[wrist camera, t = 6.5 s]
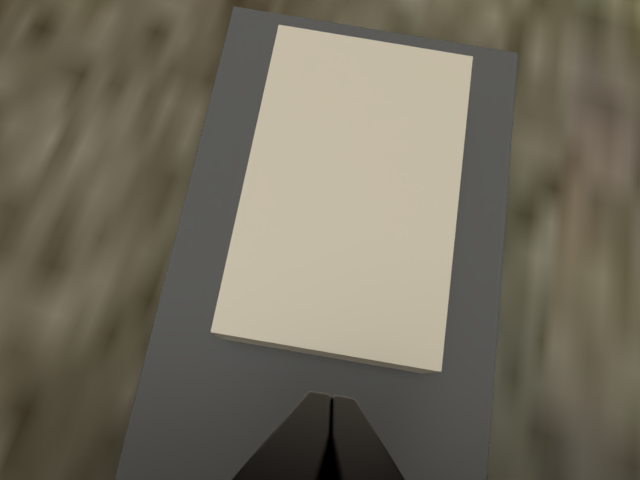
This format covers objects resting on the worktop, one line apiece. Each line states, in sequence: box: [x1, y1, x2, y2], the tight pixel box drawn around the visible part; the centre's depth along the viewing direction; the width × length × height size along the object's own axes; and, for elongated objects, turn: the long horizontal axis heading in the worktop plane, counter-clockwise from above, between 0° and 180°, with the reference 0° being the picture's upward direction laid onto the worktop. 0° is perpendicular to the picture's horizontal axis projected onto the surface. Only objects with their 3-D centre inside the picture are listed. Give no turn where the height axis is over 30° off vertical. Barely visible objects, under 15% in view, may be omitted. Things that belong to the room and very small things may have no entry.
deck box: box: [211, 25, 473, 373], centre depth 18 cm, size 3×7×11 cm
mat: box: [114, 7, 518, 480], centre depth 19 cm, size 20×12×1 cm, turn 170°
